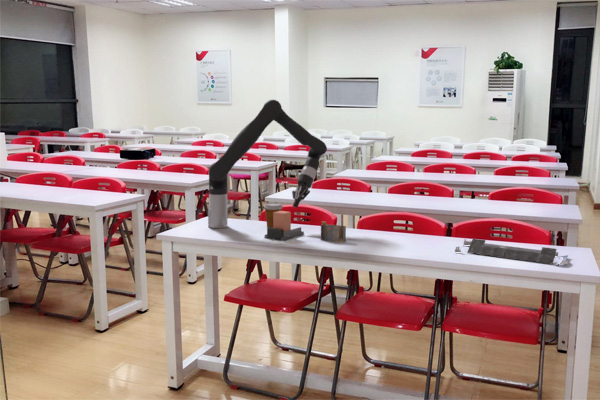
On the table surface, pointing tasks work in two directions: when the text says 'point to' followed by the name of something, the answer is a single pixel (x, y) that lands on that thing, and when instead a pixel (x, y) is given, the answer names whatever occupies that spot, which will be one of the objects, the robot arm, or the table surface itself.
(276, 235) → the rail base
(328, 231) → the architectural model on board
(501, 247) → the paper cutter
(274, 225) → the salmon pink block
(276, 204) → the disposable coffee cup
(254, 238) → the table surface
